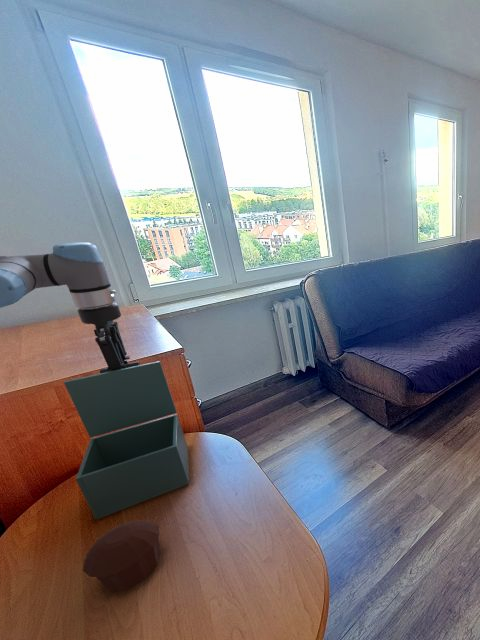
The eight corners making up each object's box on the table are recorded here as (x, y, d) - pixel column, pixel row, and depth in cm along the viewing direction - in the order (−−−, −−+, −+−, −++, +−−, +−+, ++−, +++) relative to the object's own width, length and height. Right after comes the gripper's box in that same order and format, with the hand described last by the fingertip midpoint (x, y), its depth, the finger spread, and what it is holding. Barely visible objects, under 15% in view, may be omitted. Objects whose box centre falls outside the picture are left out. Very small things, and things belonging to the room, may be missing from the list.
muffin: (173, 533, 76) (161, 501, 73) (161, 581, 67) (147, 547, 63) (106, 556, 71) (90, 523, 68) (84, 611, 62) (63, 576, 59)
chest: (189, 483, 89) (176, 446, 85) (95, 519, 79) (75, 479, 75) (188, 448, 102) (177, 413, 97) (107, 475, 92) (90, 438, 87)
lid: (159, 362, 90) (160, 350, 95) (63, 382, 80) (71, 368, 86) (176, 413, 96) (176, 399, 102) (89, 437, 87) (95, 421, 92)
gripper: (111, 310, 80) (141, 393, 89) (121, 295, 92) (146, 369, 100) (68, 316, 76) (104, 402, 85) (84, 300, 88) (113, 377, 96)
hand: (127, 384), depth 93 cm, fingers closed on lid, 2 cm apart
